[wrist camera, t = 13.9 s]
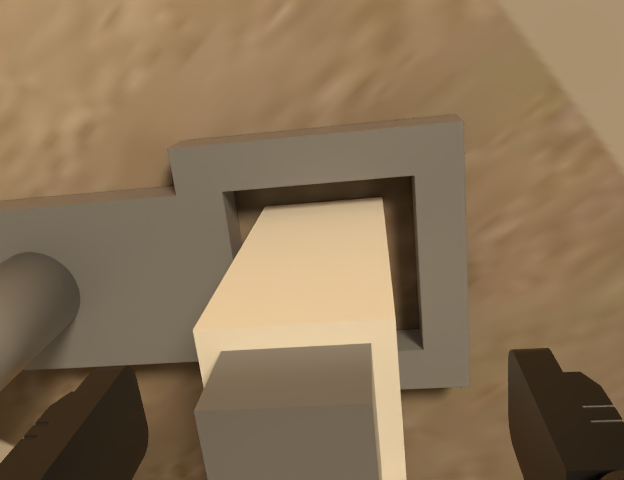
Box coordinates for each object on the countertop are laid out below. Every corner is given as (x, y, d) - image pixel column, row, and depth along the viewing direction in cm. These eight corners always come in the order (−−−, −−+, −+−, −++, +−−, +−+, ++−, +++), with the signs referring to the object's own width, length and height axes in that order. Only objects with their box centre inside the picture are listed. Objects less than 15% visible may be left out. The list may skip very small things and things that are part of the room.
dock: (4, 385, 23) (-319, 699, 12) (-66, 164, 21) (-569, 315, 10) (463, 363, 21) (569, 716, 10) (456, 114, 19) (593, 232, 7)
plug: (279, 311, 21) (199, 569, 11) (265, 206, 20) (159, 387, 10) (389, 305, 21) (414, 567, 11) (382, 197, 20) (401, 375, 9)
